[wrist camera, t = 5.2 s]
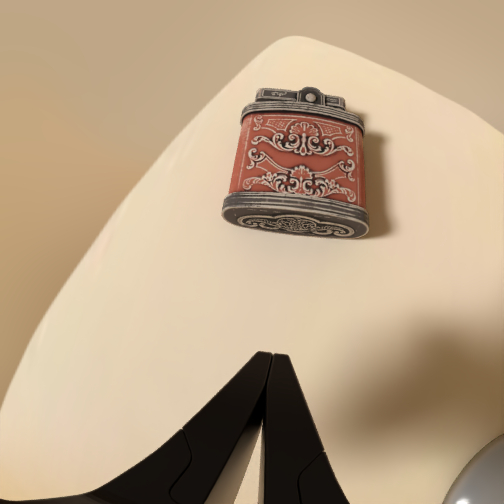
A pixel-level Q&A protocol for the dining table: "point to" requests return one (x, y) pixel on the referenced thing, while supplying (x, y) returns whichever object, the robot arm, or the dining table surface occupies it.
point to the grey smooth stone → (481, 478)
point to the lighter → (299, 167)
